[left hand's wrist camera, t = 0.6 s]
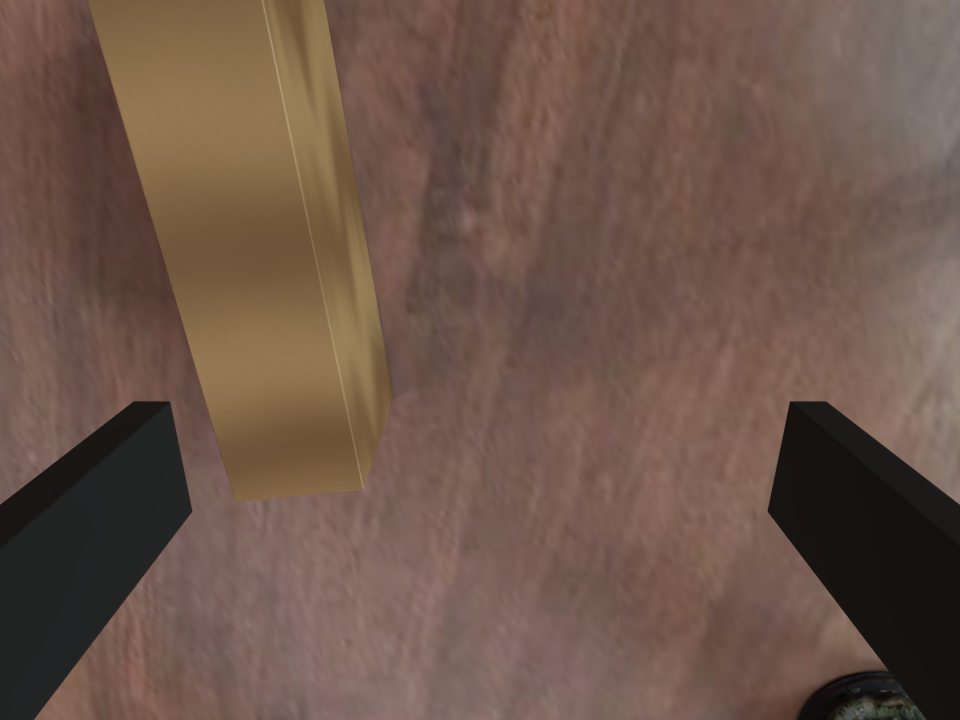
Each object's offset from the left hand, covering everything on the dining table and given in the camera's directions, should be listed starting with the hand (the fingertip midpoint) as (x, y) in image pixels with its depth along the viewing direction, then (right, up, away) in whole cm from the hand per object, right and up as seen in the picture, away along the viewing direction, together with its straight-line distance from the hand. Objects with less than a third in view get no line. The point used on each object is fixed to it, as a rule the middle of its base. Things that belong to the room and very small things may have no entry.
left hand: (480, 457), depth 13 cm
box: (-10, +10, +20) cm, 24 cm away
